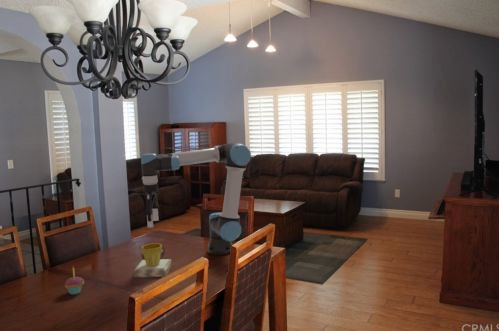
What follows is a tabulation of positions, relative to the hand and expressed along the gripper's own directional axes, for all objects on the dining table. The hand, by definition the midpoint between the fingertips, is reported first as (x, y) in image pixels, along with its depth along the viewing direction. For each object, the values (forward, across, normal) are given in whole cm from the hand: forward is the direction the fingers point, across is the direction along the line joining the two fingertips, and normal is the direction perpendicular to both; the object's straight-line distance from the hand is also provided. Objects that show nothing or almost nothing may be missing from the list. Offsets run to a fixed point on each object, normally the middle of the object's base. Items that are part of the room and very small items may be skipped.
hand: (153, 223), depth 226 cm
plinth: (+25, +2, -1) cm, 25 cm away
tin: (+25, -16, -5) cm, 30 cm away
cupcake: (+24, +26, -33) cm, 49 cm away
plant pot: (+21, +3, -1) cm, 21 cm away
